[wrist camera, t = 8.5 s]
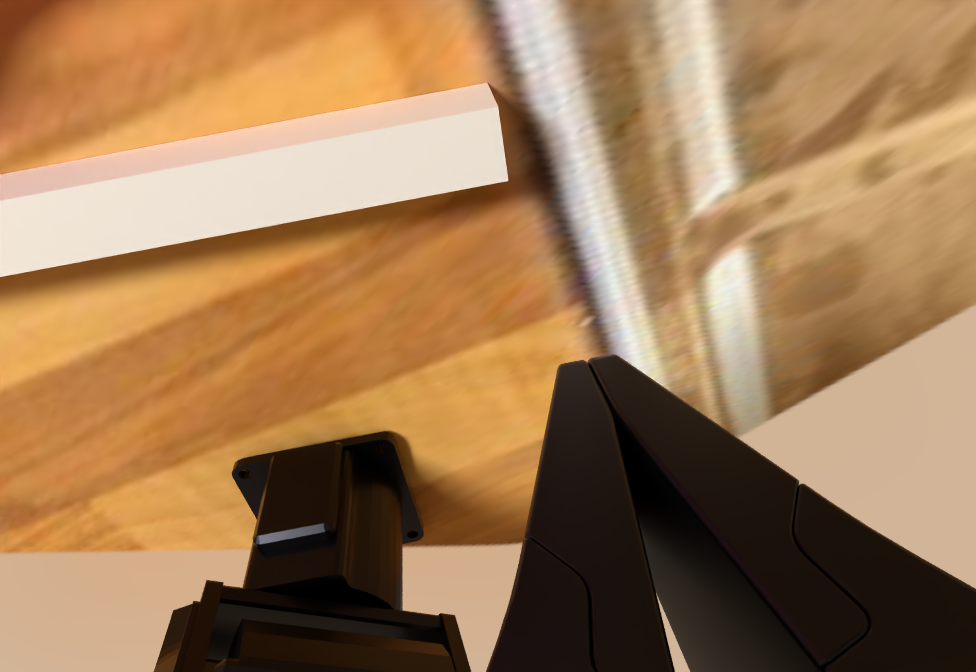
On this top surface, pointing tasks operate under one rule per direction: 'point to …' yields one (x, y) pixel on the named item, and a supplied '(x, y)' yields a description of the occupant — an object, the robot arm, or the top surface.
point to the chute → (250, 178)
